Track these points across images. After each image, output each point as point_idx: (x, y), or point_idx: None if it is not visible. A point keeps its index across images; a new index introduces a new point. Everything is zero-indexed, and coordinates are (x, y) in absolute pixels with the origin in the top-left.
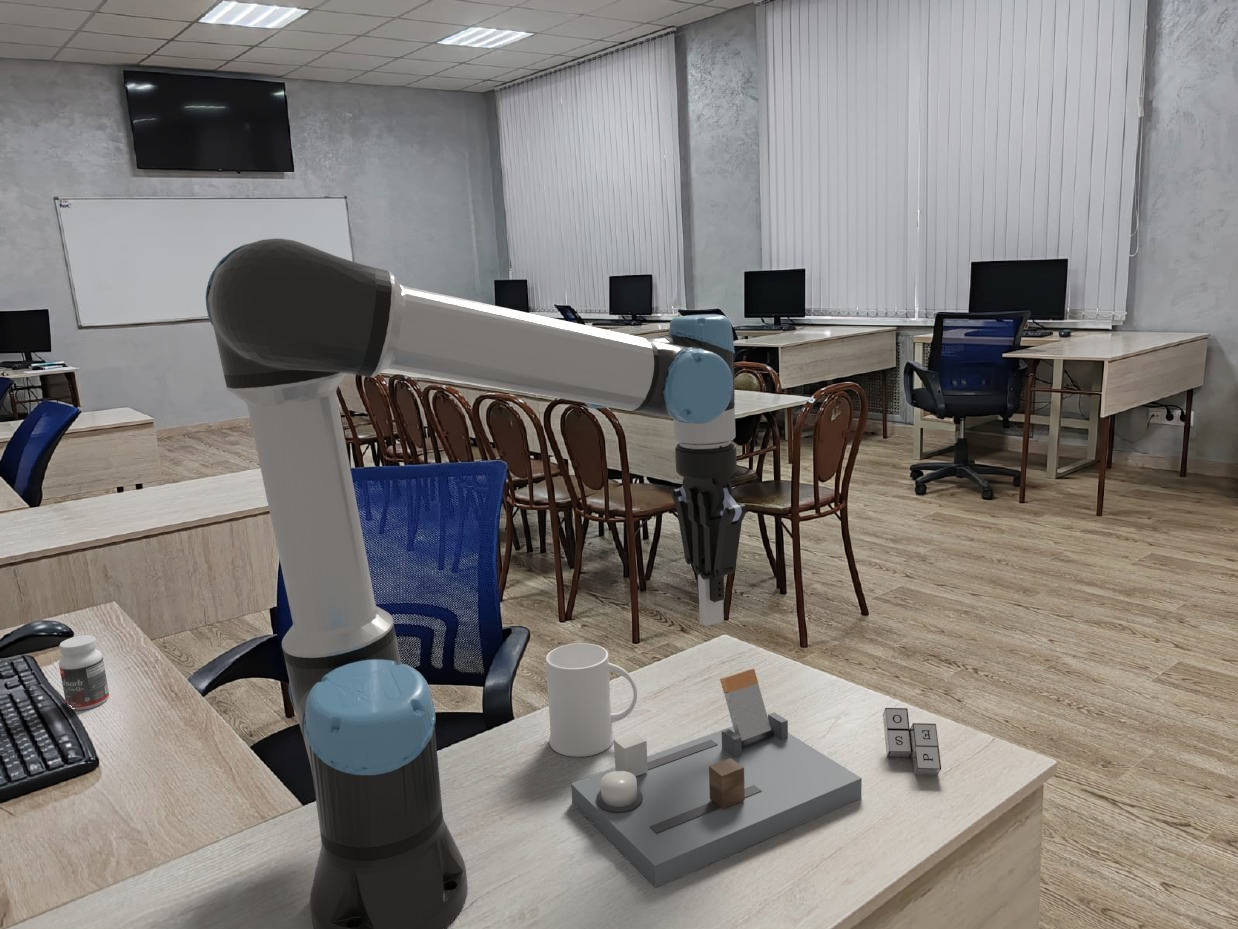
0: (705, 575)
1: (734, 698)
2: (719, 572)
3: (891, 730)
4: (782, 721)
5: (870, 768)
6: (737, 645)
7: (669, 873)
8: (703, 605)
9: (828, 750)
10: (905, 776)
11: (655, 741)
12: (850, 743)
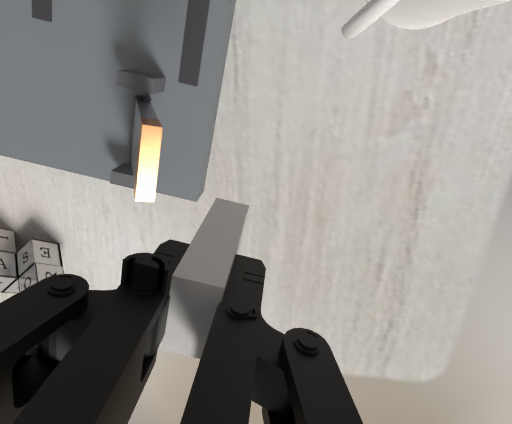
0: (133, 265)
1: (139, 124)
2: (34, 286)
3: (30, 264)
4: (112, 175)
5: (51, 210)
6: (407, 375)
7: None
8: (216, 224)
9: (113, 213)
10: (15, 220)
11: (310, 61)
12: (108, 244)
